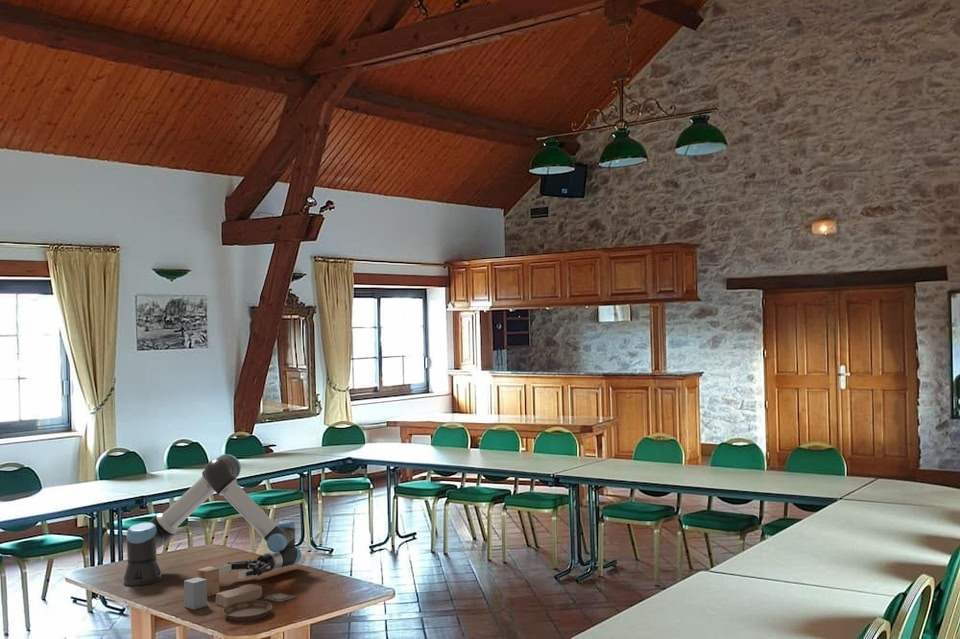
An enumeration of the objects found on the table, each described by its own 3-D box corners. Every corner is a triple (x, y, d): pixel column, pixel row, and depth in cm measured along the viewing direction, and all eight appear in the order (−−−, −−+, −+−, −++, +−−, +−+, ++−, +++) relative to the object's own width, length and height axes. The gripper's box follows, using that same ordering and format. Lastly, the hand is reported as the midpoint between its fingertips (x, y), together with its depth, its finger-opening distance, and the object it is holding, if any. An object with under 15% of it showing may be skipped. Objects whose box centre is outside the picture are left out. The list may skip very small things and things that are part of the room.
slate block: (184, 607, 350) (183, 580, 350) (197, 603, 355) (197, 577, 355) (193, 609, 346) (193, 583, 346) (207, 605, 351) (206, 579, 351)
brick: (226, 608, 348) (226, 596, 348) (214, 604, 353) (214, 592, 353) (263, 598, 360) (263, 586, 360) (251, 594, 366) (250, 583, 366)
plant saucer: (257, 625, 327) (257, 616, 327) (213, 622, 332) (213, 613, 332) (281, 610, 344) (280, 602, 344) (238, 607, 349) (238, 599, 349)
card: (263, 598, 359) (263, 596, 359) (279, 593, 365) (279, 592, 365) (280, 602, 353) (280, 601, 353) (296, 597, 359) (296, 596, 359)
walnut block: (197, 594, 366) (197, 569, 366) (210, 590, 371) (209, 566, 371) (206, 596, 363) (206, 571, 363) (219, 593, 367) (218, 568, 368)
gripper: (288, 575, 384) (247, 587, 367) (250, 566, 399) (209, 577, 382) (288, 557, 384) (247, 568, 367) (250, 549, 399) (209, 559, 382)
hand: (228, 573), depth 375 cm, fingers open, 13 cm apart
